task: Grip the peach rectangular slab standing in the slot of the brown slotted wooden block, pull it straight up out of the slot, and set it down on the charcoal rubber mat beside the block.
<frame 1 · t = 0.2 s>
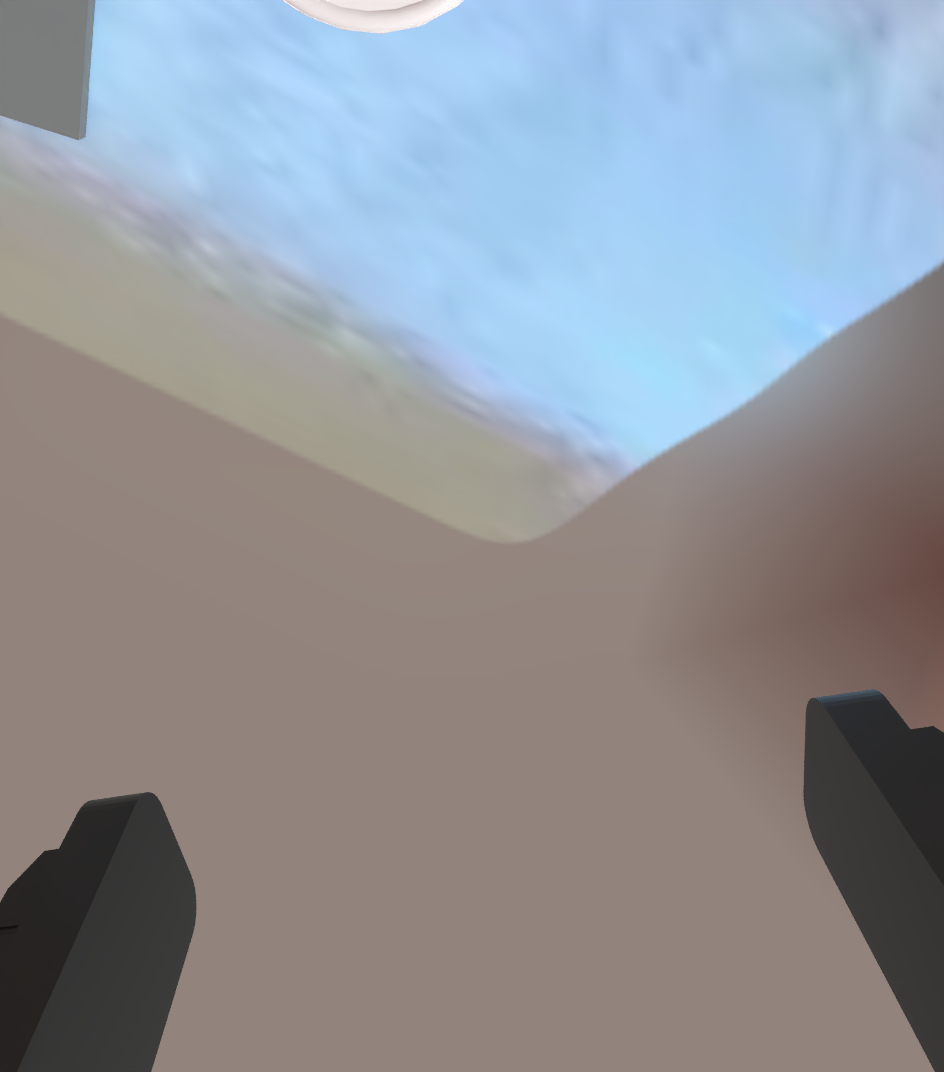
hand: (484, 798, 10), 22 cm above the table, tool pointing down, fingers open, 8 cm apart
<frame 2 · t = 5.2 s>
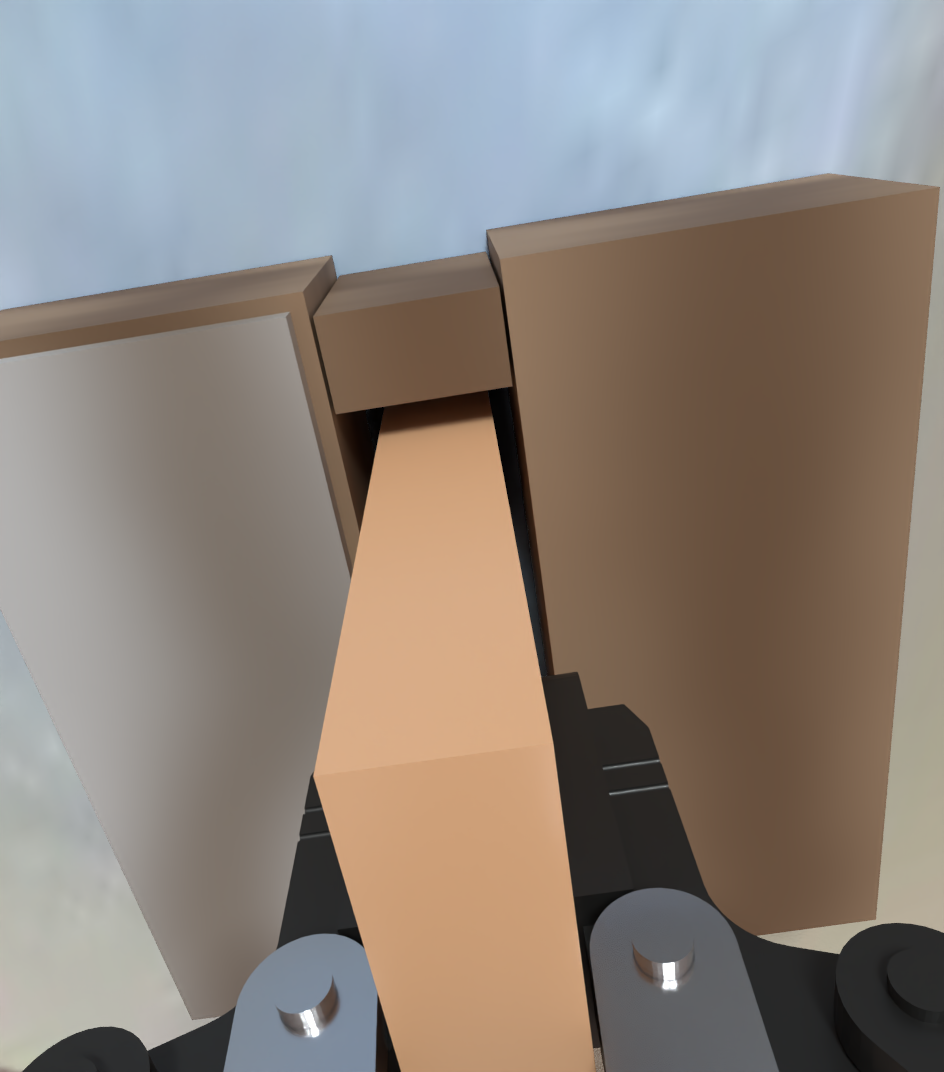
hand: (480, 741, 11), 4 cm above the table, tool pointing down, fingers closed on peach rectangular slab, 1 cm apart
peach rectangular slab: (485, 762, 11), in the brown slotted wooden block, touching gripper
brown slotted wooden block: (470, 592, 15), on the table
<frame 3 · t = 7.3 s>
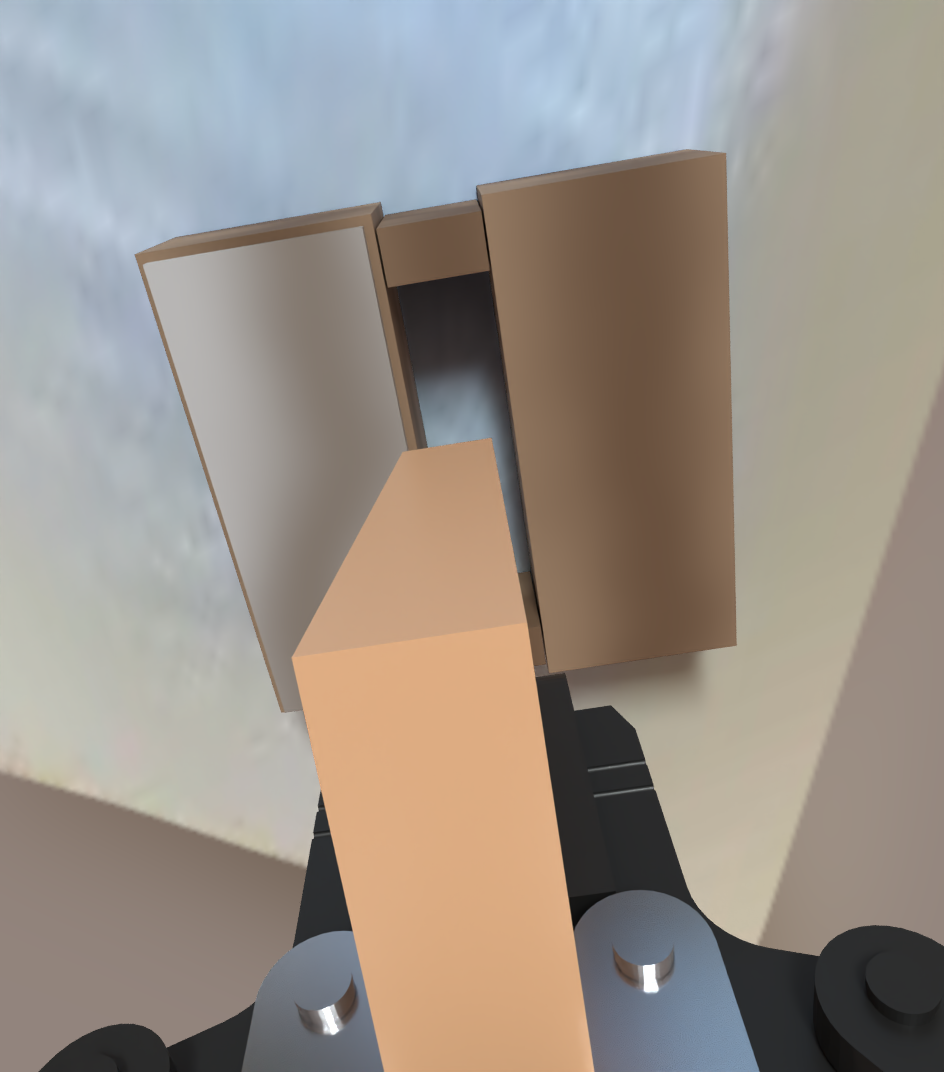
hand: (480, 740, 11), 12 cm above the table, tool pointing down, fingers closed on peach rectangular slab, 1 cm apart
peach rectangular slab: (489, 805, 11), point 14 cm above the table, tilted 12°, touching gripper
brown slotted wooden block: (468, 431, 23), on the table
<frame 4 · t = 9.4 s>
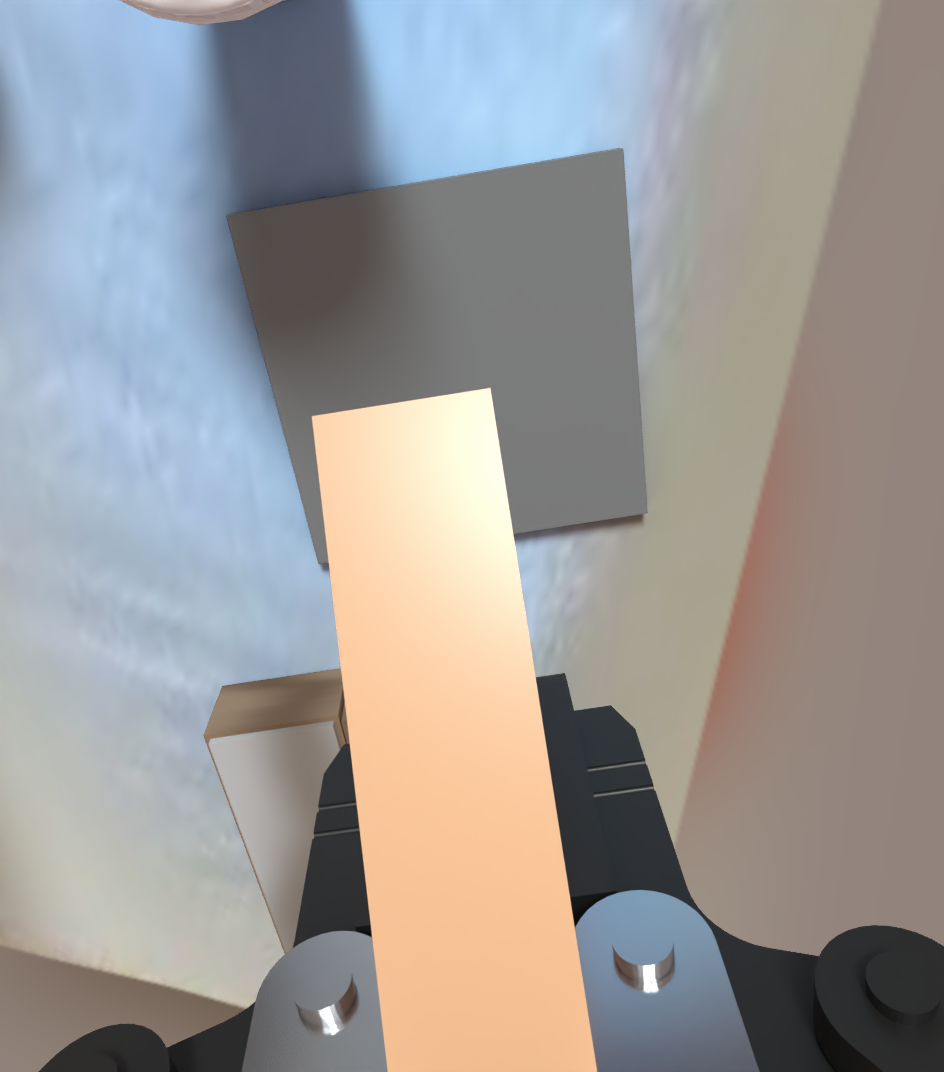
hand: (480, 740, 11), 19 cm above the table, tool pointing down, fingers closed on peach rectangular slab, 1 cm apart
peach rectangular slab: (490, 815, 11), point 20 cm above the table, tilted 36°, touching gripper
brown slotted wooden block: (403, 778, 36), on the table
mat: (454, 372, 28), on the table
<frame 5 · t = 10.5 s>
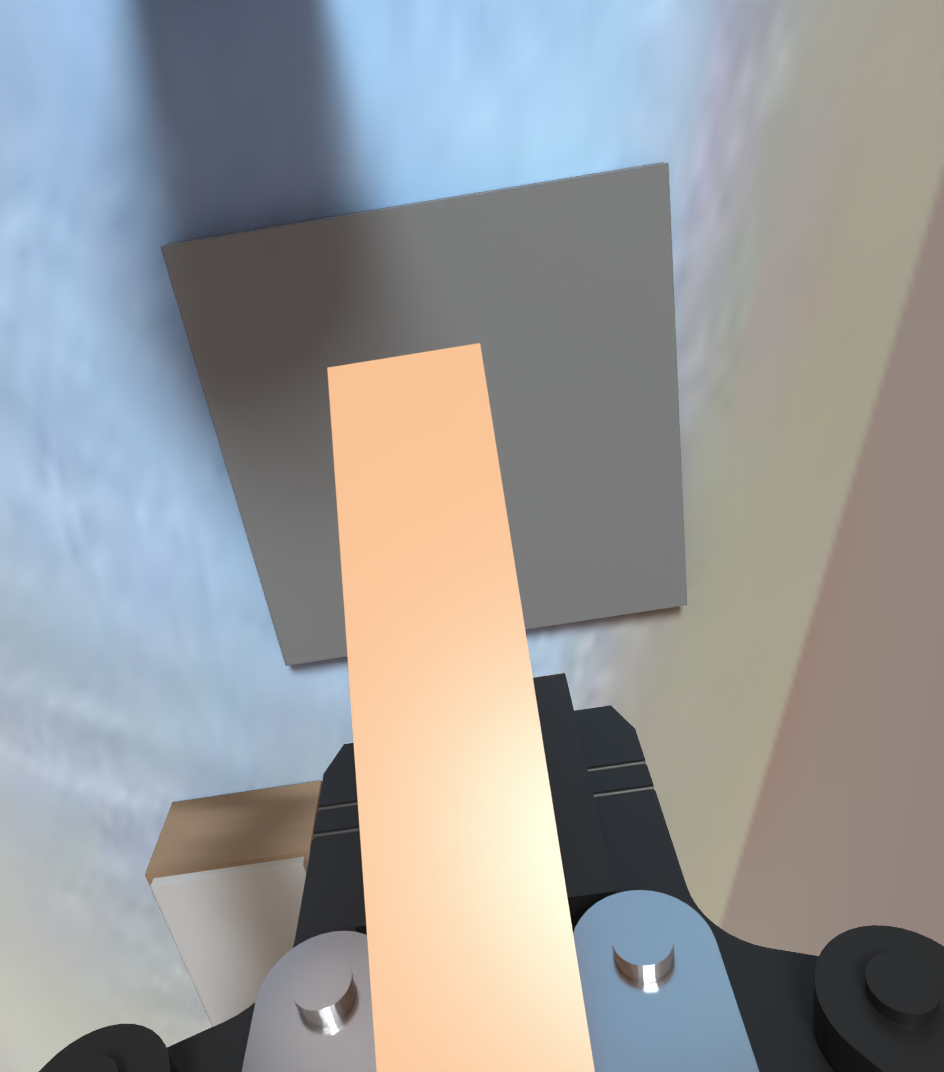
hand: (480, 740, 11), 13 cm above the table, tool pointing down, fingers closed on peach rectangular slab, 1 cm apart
peach rectangular slab: (491, 820, 11), point 14 cm above the table, tilted 49°, touching gripper
brown slotted wooden block: (390, 902, 30), on the table
mat: (452, 438, 23), on the table
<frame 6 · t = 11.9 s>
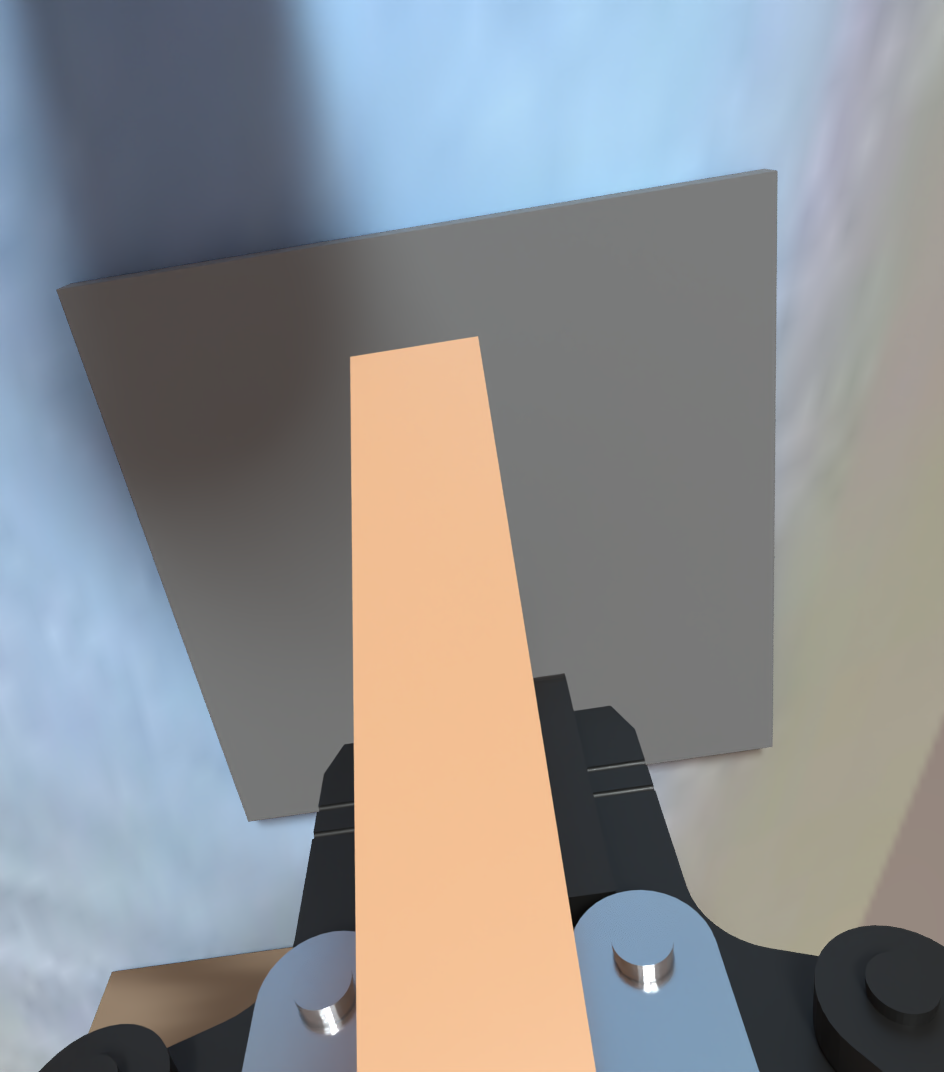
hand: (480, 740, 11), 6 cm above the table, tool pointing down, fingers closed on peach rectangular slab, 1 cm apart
peach rectangular slab: (492, 823, 11), point 7 cm above the table, tilted 65°, touching gripper
mat: (466, 538, 17), on the table
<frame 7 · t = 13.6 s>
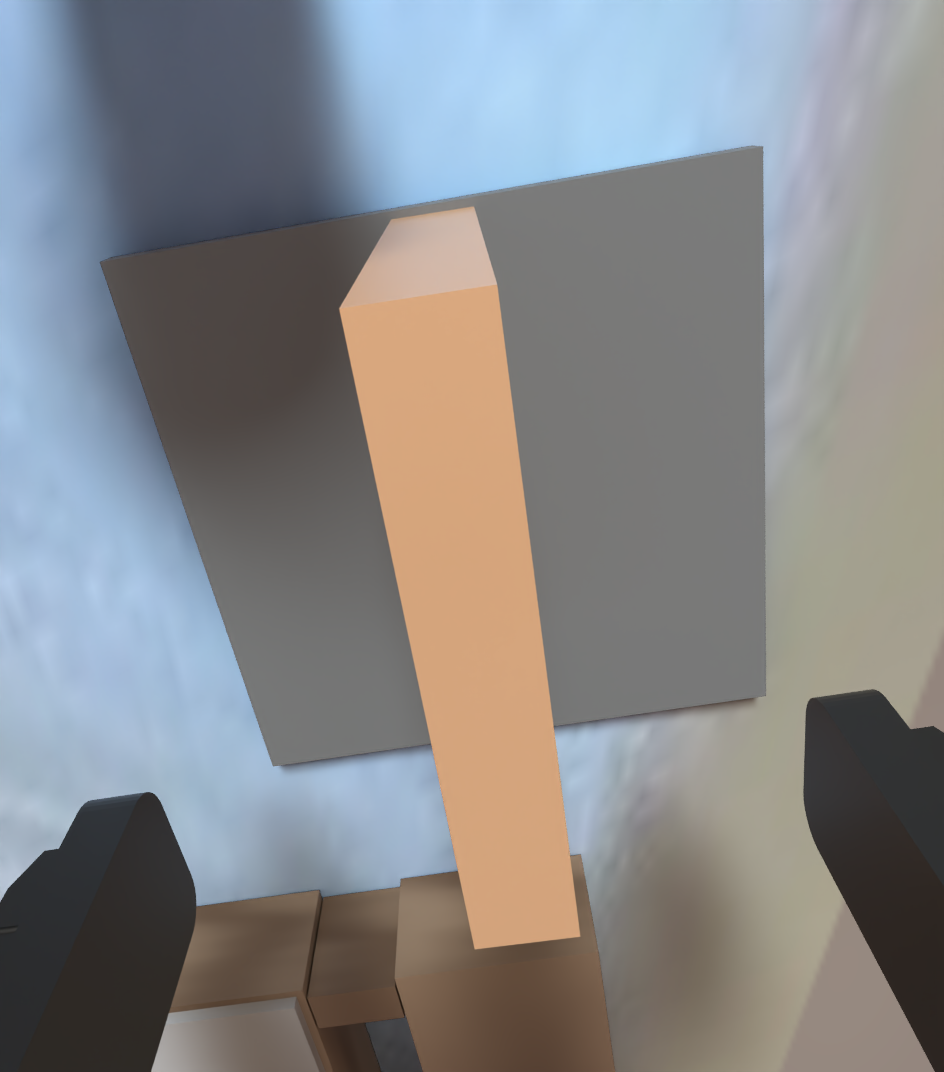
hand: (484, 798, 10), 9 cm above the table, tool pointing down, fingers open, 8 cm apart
peach rectangular slab: (474, 534, 13), on the mat, point 5 cm above the table, tilted 90°
brown slotted wooden block: (402, 1021, 26), on the table
mat: (476, 496, 18), on the table
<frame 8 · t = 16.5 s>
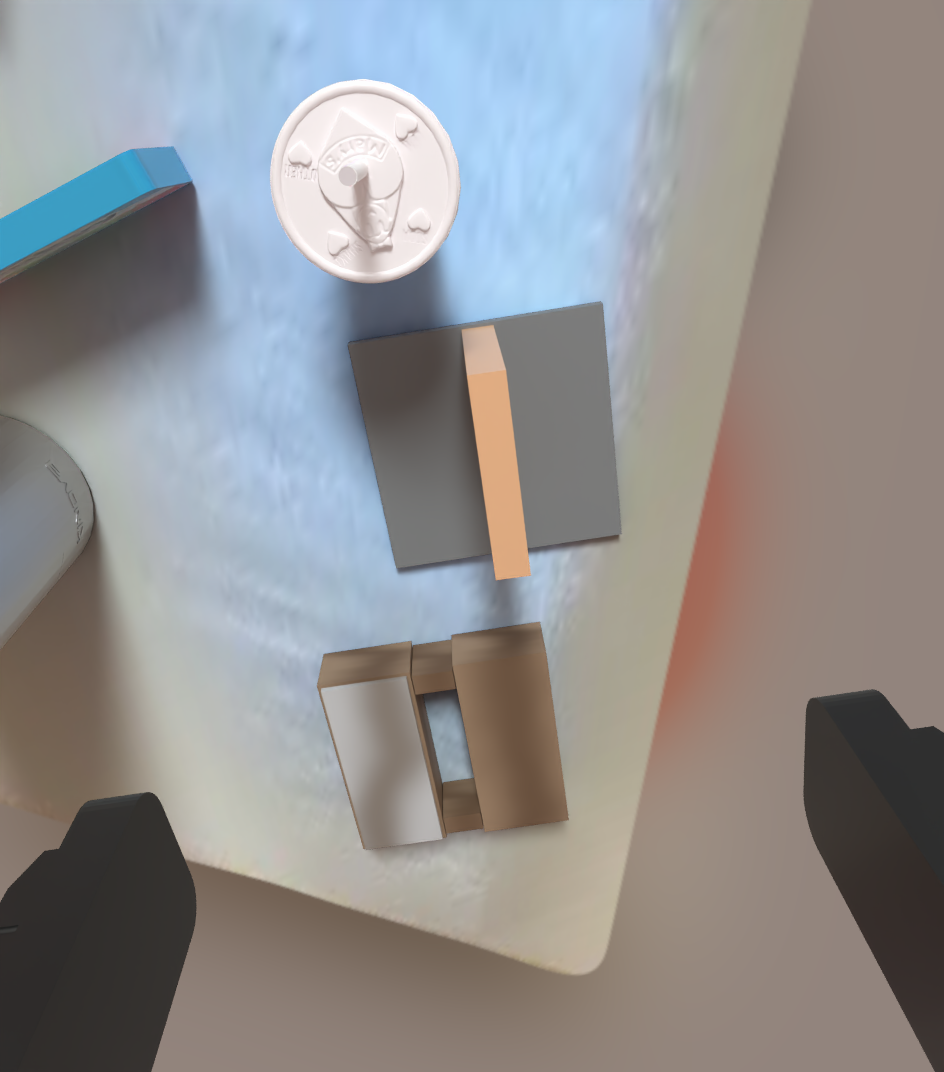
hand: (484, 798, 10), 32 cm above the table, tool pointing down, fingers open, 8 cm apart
blue green printed box: (71, 224, 37), on the table
peach rectangular slab: (494, 447, 38), on the mat, point 5 cm above the table, tilted 90°
brown slotted wooden block: (448, 722, 50), on the table
mat: (491, 441, 42), on the table
smoothie: (382, 172, 37), on the table
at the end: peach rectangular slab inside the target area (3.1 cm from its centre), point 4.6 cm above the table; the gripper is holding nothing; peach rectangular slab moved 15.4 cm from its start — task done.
